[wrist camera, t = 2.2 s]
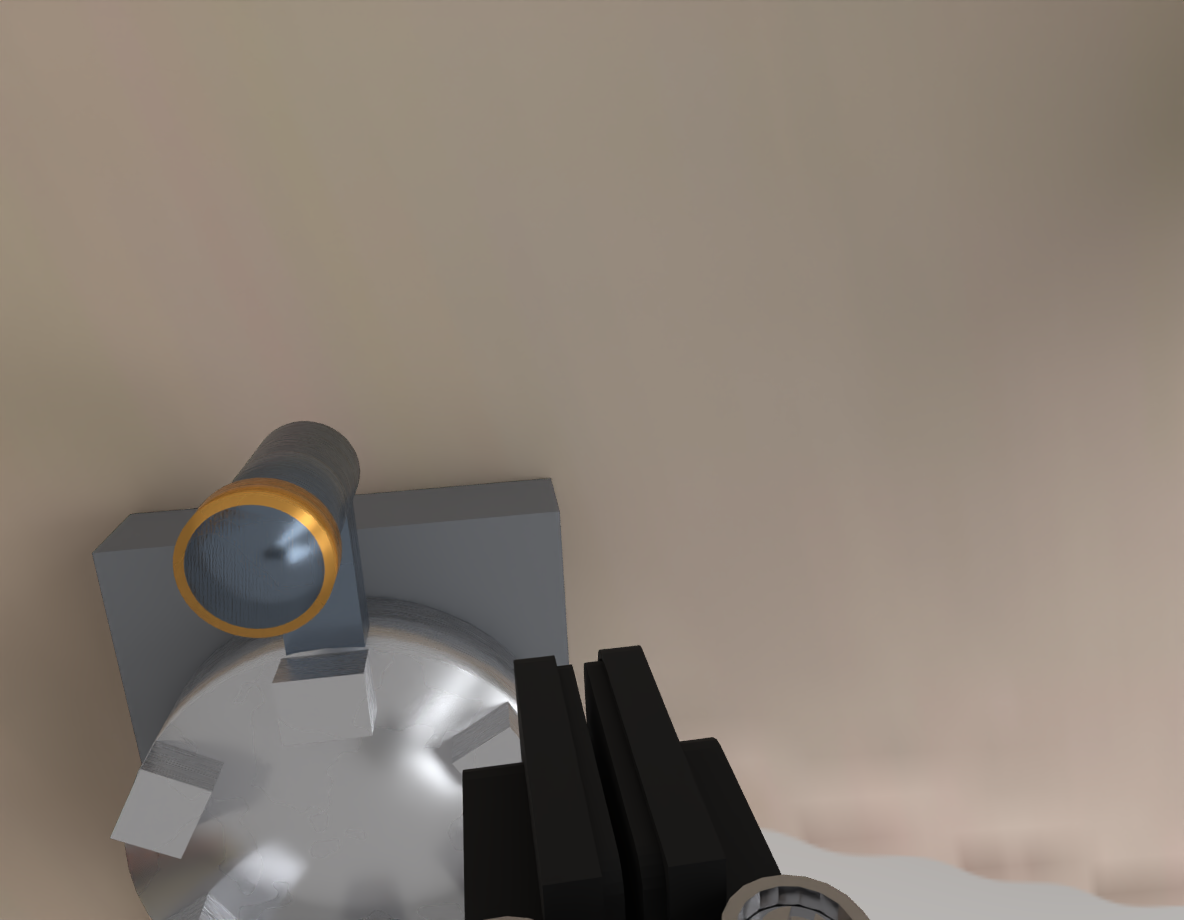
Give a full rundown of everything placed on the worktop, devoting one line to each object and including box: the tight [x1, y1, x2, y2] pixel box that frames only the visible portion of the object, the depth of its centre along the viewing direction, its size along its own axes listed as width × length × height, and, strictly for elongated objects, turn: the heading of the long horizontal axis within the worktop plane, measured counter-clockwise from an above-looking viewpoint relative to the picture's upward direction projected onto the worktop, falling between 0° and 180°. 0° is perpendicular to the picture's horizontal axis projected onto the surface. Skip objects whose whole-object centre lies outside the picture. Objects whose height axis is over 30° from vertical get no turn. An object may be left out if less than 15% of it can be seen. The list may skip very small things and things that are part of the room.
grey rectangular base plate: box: [92, 478, 569, 763], centre depth 30 cm, size 13×16×3 cm
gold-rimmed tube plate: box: [110, 421, 521, 920], centre depth 23 cm, size 18×12×8 cm, turn 3°
